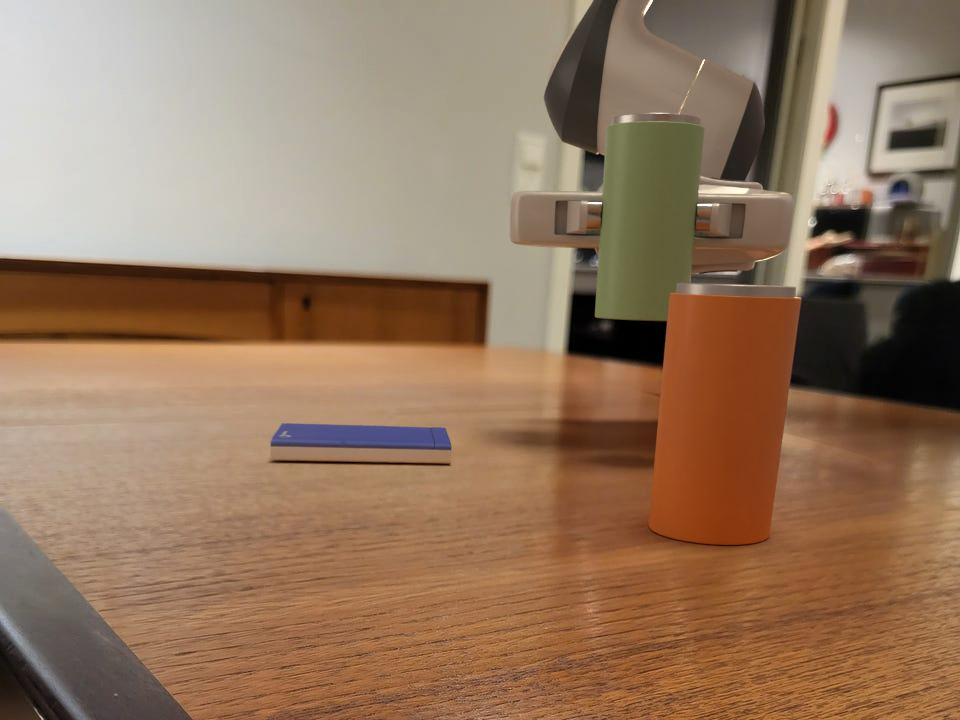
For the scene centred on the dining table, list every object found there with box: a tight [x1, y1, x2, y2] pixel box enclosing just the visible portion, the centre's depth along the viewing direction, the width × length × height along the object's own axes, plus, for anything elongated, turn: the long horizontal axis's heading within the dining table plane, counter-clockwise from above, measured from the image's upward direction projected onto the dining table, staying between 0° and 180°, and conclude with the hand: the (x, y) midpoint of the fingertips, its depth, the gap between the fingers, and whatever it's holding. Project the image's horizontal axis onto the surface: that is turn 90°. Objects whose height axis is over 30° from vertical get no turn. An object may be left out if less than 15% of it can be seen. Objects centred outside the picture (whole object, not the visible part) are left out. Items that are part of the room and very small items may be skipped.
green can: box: [594, 113, 704, 322], centre depth 68 cm, size 6×6×12 cm
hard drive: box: [269, 422, 453, 464], centre depth 73 cm, size 2×8×12 cm
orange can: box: [648, 282, 802, 546], centre depth 52 cm, size 6×6×12 cm
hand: (649, 215), depth 67 cm, fingers closed on green can, 6 cm apart
